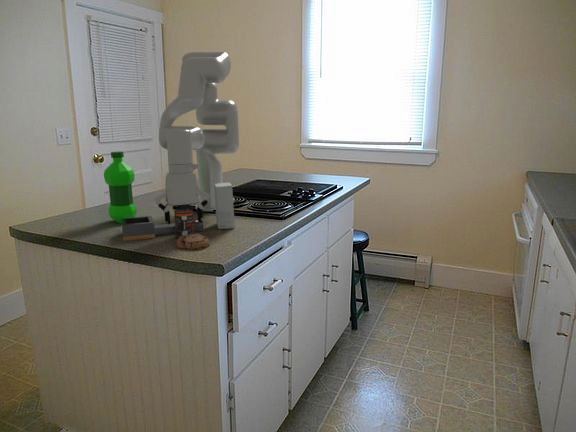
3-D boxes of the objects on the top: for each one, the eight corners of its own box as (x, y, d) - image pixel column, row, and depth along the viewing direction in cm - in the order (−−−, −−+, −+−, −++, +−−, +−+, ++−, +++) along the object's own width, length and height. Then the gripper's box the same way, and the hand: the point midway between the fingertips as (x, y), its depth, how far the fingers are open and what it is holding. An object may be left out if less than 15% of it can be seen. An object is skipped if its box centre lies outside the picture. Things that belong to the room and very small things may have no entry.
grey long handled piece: (200, 225, 162) (199, 211, 160) (205, 232, 153) (204, 218, 152) (122, 232, 153) (121, 218, 152) (123, 241, 144) (121, 225, 143)
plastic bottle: (124, 216, 175) (118, 149, 168) (144, 219, 169) (138, 151, 163) (102, 222, 166) (94, 152, 160) (122, 226, 161) (115, 154, 155)
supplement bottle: (190, 239, 145) (188, 205, 142) (172, 238, 146) (170, 204, 143) (197, 234, 151) (195, 200, 148) (180, 233, 152) (178, 200, 149)
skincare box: (235, 228, 158) (233, 185, 154) (217, 229, 156) (215, 186, 153) (232, 222, 166) (230, 181, 162) (215, 223, 164) (213, 182, 161)
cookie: (199, 252, 134) (199, 243, 133) (169, 248, 138) (168, 239, 137) (217, 243, 143) (216, 233, 142) (188, 239, 147) (187, 230, 146)
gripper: (206, 165, 149) (208, 216, 154) (151, 168, 144) (155, 221, 148) (211, 169, 143) (213, 222, 147) (153, 172, 137) (157, 227, 141)
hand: (184, 222), depth 147 cm, fingers open, 9 cm apart
